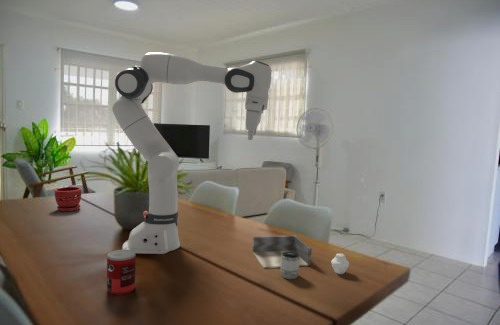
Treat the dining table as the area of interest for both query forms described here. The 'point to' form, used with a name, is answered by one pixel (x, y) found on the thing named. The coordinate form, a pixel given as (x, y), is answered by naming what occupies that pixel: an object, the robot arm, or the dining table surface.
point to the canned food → (121, 271)
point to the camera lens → (289, 265)
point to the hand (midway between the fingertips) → (251, 137)
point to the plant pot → (68, 198)
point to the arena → (280, 250)
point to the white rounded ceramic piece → (340, 263)
